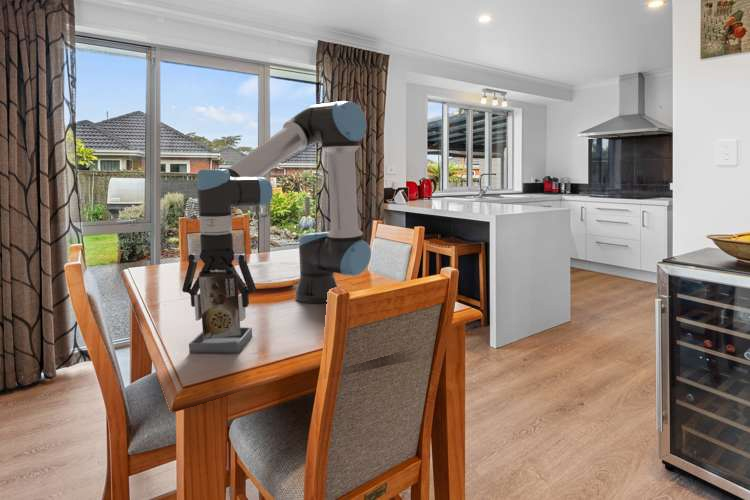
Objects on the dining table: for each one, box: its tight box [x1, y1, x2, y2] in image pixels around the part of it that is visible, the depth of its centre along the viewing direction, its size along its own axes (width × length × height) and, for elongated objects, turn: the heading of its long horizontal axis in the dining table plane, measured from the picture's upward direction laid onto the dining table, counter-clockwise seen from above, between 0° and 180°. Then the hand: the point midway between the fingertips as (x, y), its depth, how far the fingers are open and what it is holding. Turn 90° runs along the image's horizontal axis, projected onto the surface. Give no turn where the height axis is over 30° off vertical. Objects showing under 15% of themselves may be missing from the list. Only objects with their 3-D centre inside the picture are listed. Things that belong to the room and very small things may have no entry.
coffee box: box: [198, 268, 241, 339], centre depth 116 cm, size 9×6×16 cm
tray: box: [188, 326, 253, 355], centre depth 118 cm, size 12×12×2 cm
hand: (220, 319), depth 117 cm, fingers closed on coffee box, 10 cm apart
